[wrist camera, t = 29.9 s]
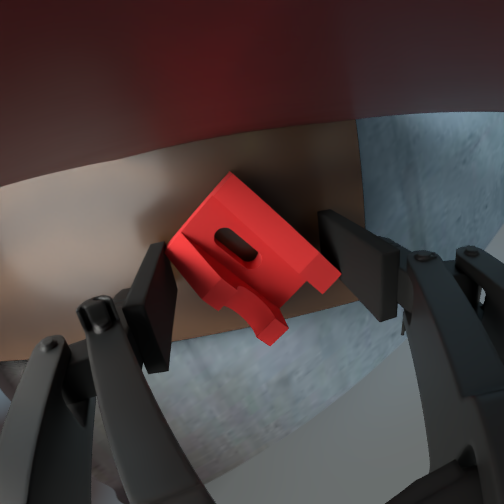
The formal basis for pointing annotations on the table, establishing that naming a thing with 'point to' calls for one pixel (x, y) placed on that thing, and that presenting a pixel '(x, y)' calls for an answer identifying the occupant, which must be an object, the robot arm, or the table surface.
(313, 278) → the bracket
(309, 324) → the table surface
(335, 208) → the stand
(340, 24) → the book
